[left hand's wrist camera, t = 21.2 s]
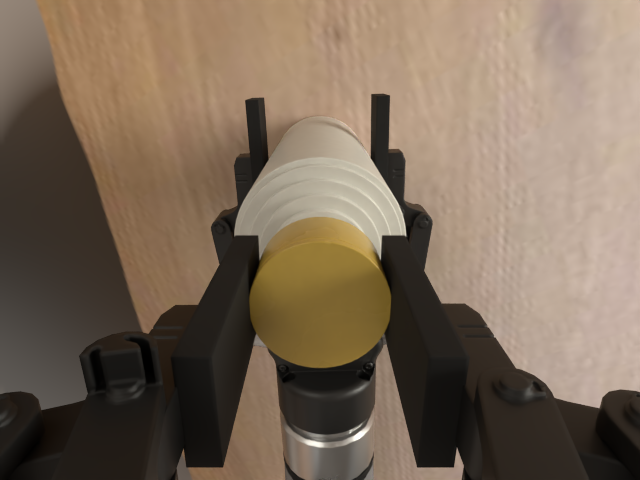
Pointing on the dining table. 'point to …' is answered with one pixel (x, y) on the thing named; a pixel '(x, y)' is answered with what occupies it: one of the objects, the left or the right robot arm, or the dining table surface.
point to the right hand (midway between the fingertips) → (317, 97)
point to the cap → (320, 293)
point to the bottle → (320, 185)
